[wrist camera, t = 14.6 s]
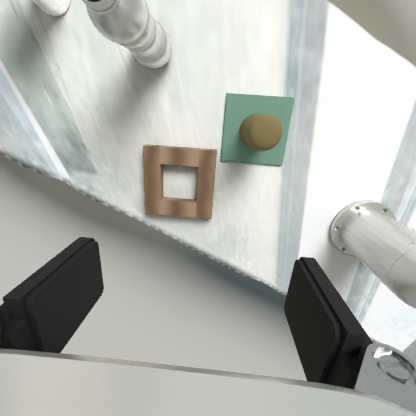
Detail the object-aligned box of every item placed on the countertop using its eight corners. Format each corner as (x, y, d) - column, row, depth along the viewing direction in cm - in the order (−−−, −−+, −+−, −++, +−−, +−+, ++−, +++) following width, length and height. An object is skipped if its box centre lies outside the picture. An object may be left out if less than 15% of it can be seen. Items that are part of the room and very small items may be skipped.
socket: (216, 149, 44) (216, 151, 42) (211, 215, 49) (211, 219, 47) (146, 144, 44) (143, 145, 42) (148, 209, 49) (145, 213, 47)
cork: (273, 113, 40) (291, 110, 30) (269, 148, 43) (285, 155, 32) (240, 113, 41) (246, 109, 30) (238, 147, 43) (243, 154, 33)
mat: (293, 97, 40) (294, 97, 39) (281, 165, 44) (281, 165, 44) (226, 93, 40) (226, 93, 40) (220, 160, 44) (221, 160, 44)
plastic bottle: (174, 72, 40) (131, 25, 21) (137, 70, 40) (61, 22, 21) (174, 28, 37) (125, -70, 19) (134, 26, 37) (47, -72, 19)
